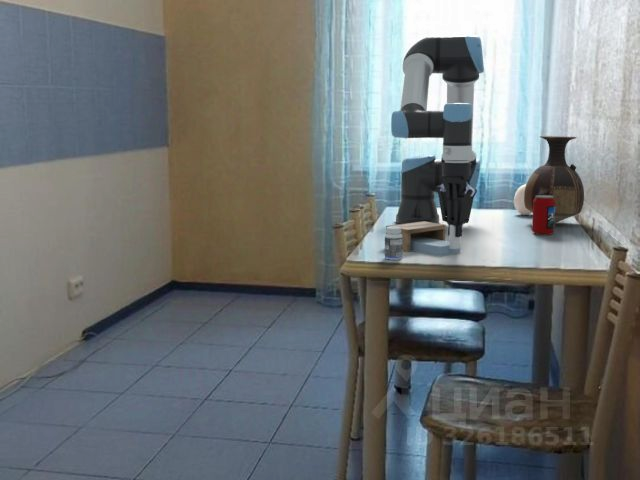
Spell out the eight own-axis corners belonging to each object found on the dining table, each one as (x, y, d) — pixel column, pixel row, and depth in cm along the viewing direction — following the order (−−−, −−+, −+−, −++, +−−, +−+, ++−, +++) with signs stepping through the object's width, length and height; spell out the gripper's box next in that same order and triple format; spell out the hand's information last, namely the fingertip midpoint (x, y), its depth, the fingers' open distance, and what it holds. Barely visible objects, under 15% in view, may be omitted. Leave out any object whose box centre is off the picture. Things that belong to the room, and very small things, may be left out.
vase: (546, 230, 245) (550, 137, 240) (507, 223, 263) (510, 135, 258) (599, 225, 255) (604, 135, 250) (559, 218, 272) (562, 134, 267)
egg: (535, 217, 277) (536, 185, 275) (511, 215, 281) (512, 184, 279) (539, 214, 285) (540, 183, 283) (515, 212, 288) (516, 182, 286)
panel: (401, 250, 217) (401, 239, 216) (421, 246, 221) (421, 236, 221) (440, 257, 205) (440, 246, 204) (460, 254, 210) (460, 243, 209)
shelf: (385, 247, 218) (386, 226, 217) (423, 241, 227) (423, 221, 226) (407, 251, 211) (407, 229, 210) (445, 245, 220) (445, 224, 219)
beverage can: (555, 235, 236) (556, 197, 234) (532, 235, 237) (534, 197, 235) (553, 232, 242) (554, 194, 240) (531, 231, 244) (532, 194, 242)
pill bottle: (383, 257, 204) (383, 226, 202) (400, 256, 204) (400, 225, 203) (386, 260, 199) (386, 228, 198) (403, 260, 200) (404, 228, 198)
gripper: (429, 161, 206) (427, 246, 210) (465, 163, 195) (463, 253, 199) (448, 159, 210) (446, 243, 214) (484, 162, 200) (482, 250, 204)
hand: (454, 248), depth 207 cm, fingers closed
